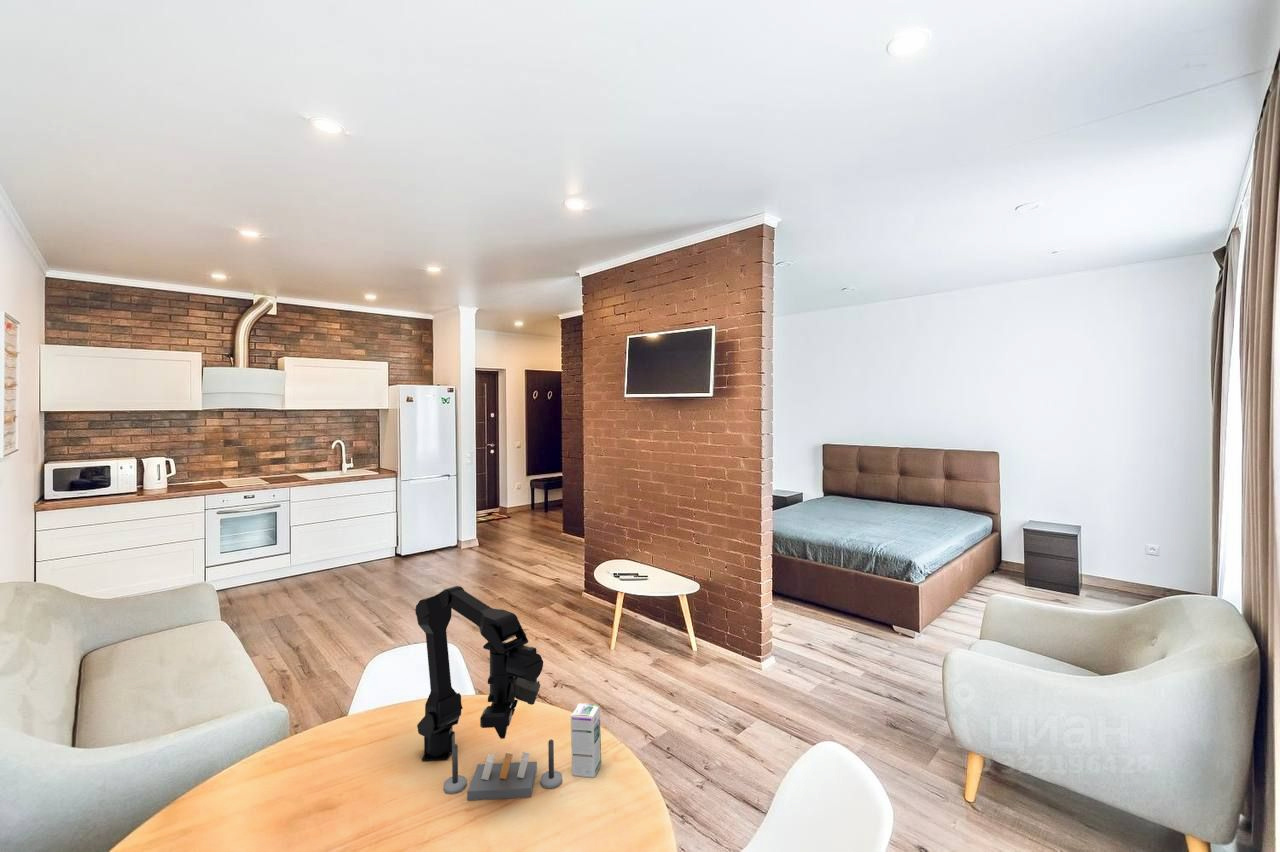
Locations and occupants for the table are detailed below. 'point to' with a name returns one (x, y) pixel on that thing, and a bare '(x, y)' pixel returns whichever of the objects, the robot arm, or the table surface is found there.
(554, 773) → the stand
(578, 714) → the syrup box
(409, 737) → the table surface
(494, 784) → the panel
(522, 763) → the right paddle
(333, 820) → the table surface
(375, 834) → the table surface
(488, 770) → the left paddle
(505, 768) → the orange rectangular block
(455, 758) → the stand
